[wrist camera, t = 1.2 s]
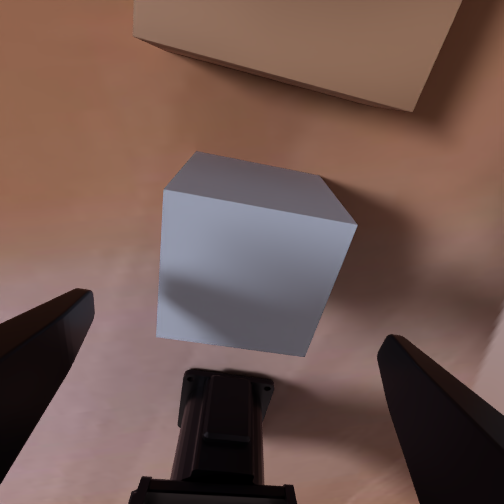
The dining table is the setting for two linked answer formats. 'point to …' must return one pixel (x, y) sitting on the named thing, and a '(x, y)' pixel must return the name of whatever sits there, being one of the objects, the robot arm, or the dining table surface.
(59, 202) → the dining table surface
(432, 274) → the dining table surface
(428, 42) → the tan flat square block
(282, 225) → the slate cube
